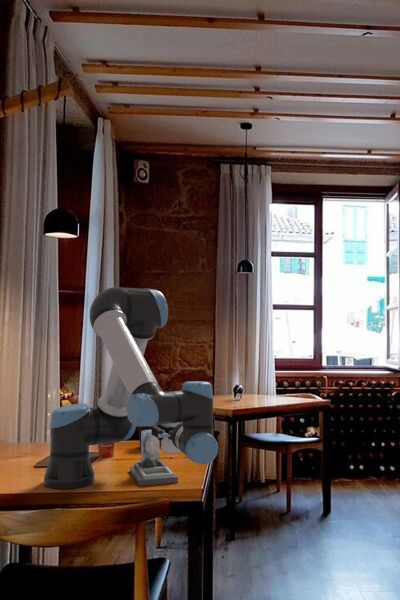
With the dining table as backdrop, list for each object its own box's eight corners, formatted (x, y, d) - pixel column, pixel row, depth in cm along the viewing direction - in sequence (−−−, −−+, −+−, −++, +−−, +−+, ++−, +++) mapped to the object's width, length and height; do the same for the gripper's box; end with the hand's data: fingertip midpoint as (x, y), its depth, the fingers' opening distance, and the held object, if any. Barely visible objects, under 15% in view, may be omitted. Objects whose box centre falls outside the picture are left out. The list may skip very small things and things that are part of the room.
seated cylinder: (142, 471, 171) (142, 433, 172) (139, 466, 177) (139, 430, 177) (161, 469, 173) (161, 432, 173) (157, 465, 178) (157, 429, 179)
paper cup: (92, 457, 198) (92, 419, 199) (102, 453, 205) (102, 416, 206) (110, 459, 196) (110, 420, 197) (120, 454, 203) (120, 417, 204)
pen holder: (139, 445, 221) (139, 421, 221) (161, 444, 222) (161, 420, 222) (138, 450, 211) (138, 424, 212) (162, 449, 212) (162, 424, 213)
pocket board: (139, 485, 160) (139, 476, 160) (129, 471, 177) (129, 462, 177) (178, 482, 163) (177, 473, 163) (165, 468, 181) (165, 460, 181)
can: (180, 454, 154) (180, 412, 154) (159, 453, 155) (159, 411, 156) (185, 449, 160) (185, 409, 161) (164, 448, 161) (164, 408, 162)
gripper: (152, 455, 138) (137, 438, 160) (222, 450, 143) (199, 435, 165) (152, 425, 138) (137, 413, 160) (222, 422, 144) (199, 410, 166)
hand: (168, 424), depth 163 cm, fingers closed on can, 6 cm apart
